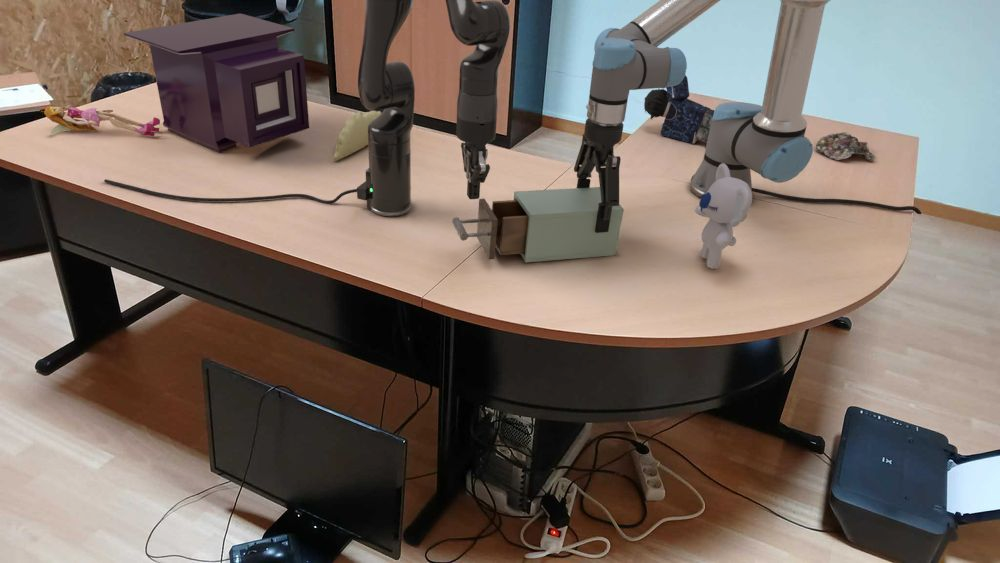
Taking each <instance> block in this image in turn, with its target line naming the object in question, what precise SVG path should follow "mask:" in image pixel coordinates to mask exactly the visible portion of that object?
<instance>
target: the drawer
mask: <svg viewBox="0 0 1000 563" xmlns="http://www.w3.org/2000/svg"><path fill="white" fill-rule="evenodd" d="M477 211H478V213H477V218H469V219H460V218H459V217H457V216H456V217H454V218H453V219H452V220H451V223H452V225H453V228H454V229H455V231H456V233H457V235H458V237H459V238H460V240H461V241H466V240H468V239H469V238H476V239H477V240H478V242H479V244H480V246H481V248H482V249H483V251H484V254H485V255H486V257H487V259H488V260H489V261H491V260H492V261H493V260H495V259H496V257H495V256H496V250H497V252H498V253H499V255H500V256H508V255H509V256H510V255H520V254H522V253H525V247H526V238H527V229H528V220H529V216H528V215H527V214H526V212H525V211H524V209H523V208H522V206H521V205H520V204H519V202H518V201H517V200H513V199H509V200H493V201H492V205H491V206H490V205H489V203H488V202H487V200H486V198H478V210H477ZM463 224H477V228H476V232H471V233H468V232H467V230H466V229H465V226H464V225H463Z"/></svg>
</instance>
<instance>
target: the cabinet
mask: <svg viewBox="0 0 1000 563" xmlns="http://www.w3.org/2000/svg"><path fill="white" fill-rule="evenodd" d="M512 200H517V201H518V202H519V204H520V205H521V206H522V208H523V209H524V211H525V212H526V214H527V215H528V216H529V220H528V229H527V238H526V247H525V253H522V254H519V256H521V258H522V260H523V261H524V262H525V263H536V262H538V263H539V262H549V261H563V260H575V259H585V258H597V257H610V256H616V253H617V249H618V243H619V238H620V232H621V228H622V221H623V217H624V210H625V209H624V207H623V206H621V204H620V203H619V206H612V212H611V218H610V224H609V230H608V232H602V233H596V232H595V227H596V221H597V214H598V207H599V205H598V203H602V202H601V193H600V186H596V187H595V186H593V187H592V186H591V187H590V188H577V187H576V188H574V187H573V188H557V189H556V188H555V189H554V188H553V189H535V190H519V191H516V190H515V191H513V198H512Z"/></svg>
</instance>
